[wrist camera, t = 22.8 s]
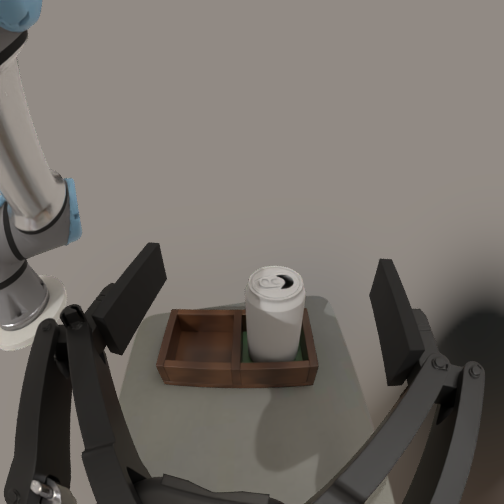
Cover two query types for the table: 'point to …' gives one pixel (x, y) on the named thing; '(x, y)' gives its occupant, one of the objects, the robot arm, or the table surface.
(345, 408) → the table surface
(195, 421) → the table surface
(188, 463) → the table surface
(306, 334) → the wooden compartment tray
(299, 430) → the table surface
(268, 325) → the beverage can
